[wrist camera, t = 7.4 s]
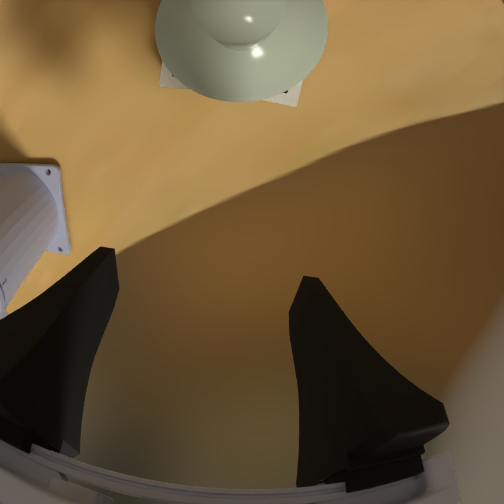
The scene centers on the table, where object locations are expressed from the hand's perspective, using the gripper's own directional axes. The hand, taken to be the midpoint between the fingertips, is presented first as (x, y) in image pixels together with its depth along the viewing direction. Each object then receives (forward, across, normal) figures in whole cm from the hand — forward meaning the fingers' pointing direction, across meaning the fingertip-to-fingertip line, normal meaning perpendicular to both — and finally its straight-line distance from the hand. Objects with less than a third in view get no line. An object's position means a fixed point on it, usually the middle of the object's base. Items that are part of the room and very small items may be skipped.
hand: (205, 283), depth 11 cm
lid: (+7, 0, -10) cm, 12 cm away
